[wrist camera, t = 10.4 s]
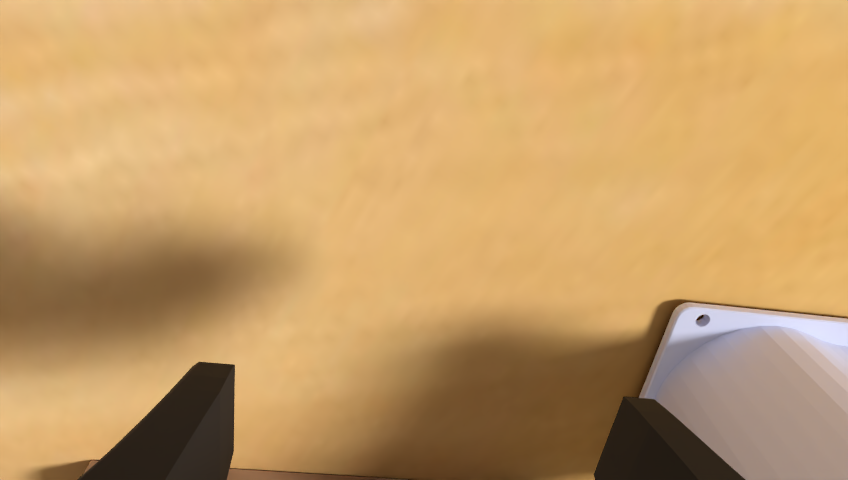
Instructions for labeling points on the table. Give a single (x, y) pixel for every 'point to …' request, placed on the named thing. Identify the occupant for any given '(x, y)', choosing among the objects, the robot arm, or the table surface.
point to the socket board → (279, 475)
